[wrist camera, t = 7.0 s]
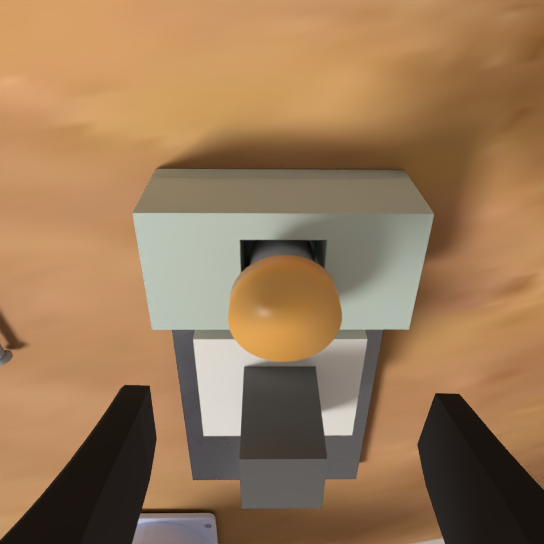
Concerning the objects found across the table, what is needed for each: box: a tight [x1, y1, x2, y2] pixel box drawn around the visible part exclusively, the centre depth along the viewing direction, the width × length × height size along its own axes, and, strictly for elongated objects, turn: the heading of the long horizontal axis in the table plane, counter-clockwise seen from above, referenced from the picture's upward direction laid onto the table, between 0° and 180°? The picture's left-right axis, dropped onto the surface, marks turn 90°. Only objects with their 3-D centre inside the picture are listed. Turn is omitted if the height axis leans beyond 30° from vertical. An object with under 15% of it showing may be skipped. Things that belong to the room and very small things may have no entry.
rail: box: [172, 170, 403, 480], centre depth 23 cm, size 20×10×2 cm, turn 179°
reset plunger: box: [228, 240, 342, 362], centre depth 16 cm, size 4×4×4 cm
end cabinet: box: [132, 169, 434, 330], centre depth 19 cm, size 5×10×4 cm, turn 89°
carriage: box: [193, 330, 368, 509], centre depth 19 cm, size 6×7×6 cm
